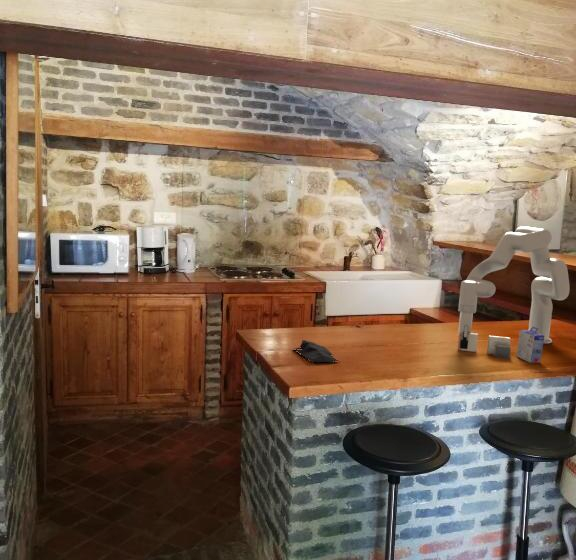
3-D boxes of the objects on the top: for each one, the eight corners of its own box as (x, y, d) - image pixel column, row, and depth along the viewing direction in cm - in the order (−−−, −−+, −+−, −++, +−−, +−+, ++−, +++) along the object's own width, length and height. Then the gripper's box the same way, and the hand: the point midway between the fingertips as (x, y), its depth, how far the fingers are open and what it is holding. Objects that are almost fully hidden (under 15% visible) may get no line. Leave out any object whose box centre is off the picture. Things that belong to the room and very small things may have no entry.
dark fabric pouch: (306, 366, 227) (307, 355, 226) (291, 350, 248) (291, 339, 247) (342, 364, 231) (342, 353, 230) (324, 348, 252) (324, 338, 251)
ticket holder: (486, 349, 259) (488, 333, 257) (507, 352, 256) (509, 335, 255) (487, 356, 249) (489, 338, 248) (509, 358, 247) (511, 340, 245)
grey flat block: (457, 348, 258) (459, 331, 256) (476, 350, 256) (477, 333, 254) (457, 349, 256) (459, 332, 255) (476, 351, 254) (478, 334, 253)
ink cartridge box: (541, 363, 243) (545, 330, 240) (530, 363, 241) (534, 330, 239) (526, 355, 252) (530, 324, 250) (515, 356, 251) (519, 324, 248)
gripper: (458, 303, 261) (454, 342, 265) (459, 311, 246) (455, 351, 250) (475, 305, 260) (471, 344, 263) (477, 312, 244) (473, 353, 248)
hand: (463, 347), depth 256 cm, fingers closed on grey flat block
